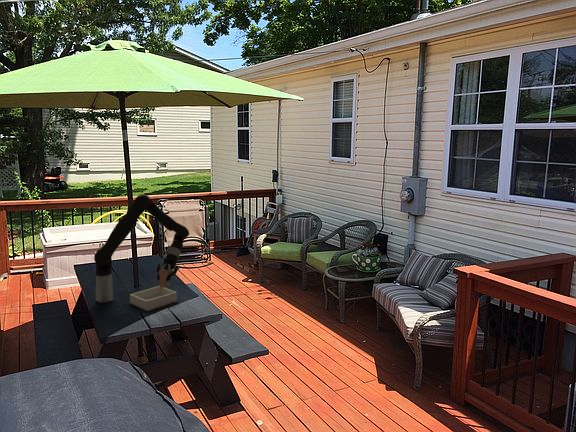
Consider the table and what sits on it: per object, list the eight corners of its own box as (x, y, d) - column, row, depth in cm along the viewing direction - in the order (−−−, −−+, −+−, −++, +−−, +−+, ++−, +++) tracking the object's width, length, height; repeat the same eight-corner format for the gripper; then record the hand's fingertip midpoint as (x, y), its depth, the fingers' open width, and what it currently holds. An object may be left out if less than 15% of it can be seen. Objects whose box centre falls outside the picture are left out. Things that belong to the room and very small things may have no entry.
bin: (146, 311, 273) (146, 301, 272) (130, 303, 284) (129, 294, 283) (177, 301, 290) (176, 292, 288) (160, 294, 301) (160, 285, 300)
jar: (163, 288, 273) (162, 271, 271) (157, 286, 277) (157, 269, 275) (171, 286, 277) (170, 270, 276) (165, 284, 281) (165, 268, 279)
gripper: (160, 251, 283) (149, 276, 274) (180, 254, 279) (170, 278, 270) (164, 258, 289) (154, 281, 280) (185, 260, 285) (175, 284, 276)
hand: (162, 280), depth 275 cm, fingers closed on jar, 5 cm apart
